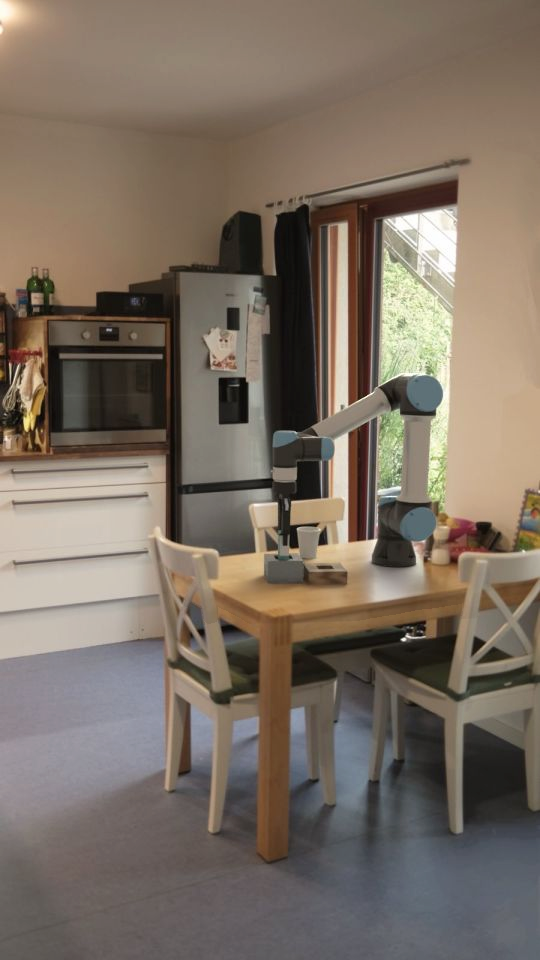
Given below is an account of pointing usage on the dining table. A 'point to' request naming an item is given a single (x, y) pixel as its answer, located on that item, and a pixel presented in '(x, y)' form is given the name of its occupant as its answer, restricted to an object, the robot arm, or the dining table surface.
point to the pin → (279, 548)
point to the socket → (283, 568)
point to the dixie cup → (308, 541)
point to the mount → (324, 573)
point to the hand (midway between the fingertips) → (283, 553)
